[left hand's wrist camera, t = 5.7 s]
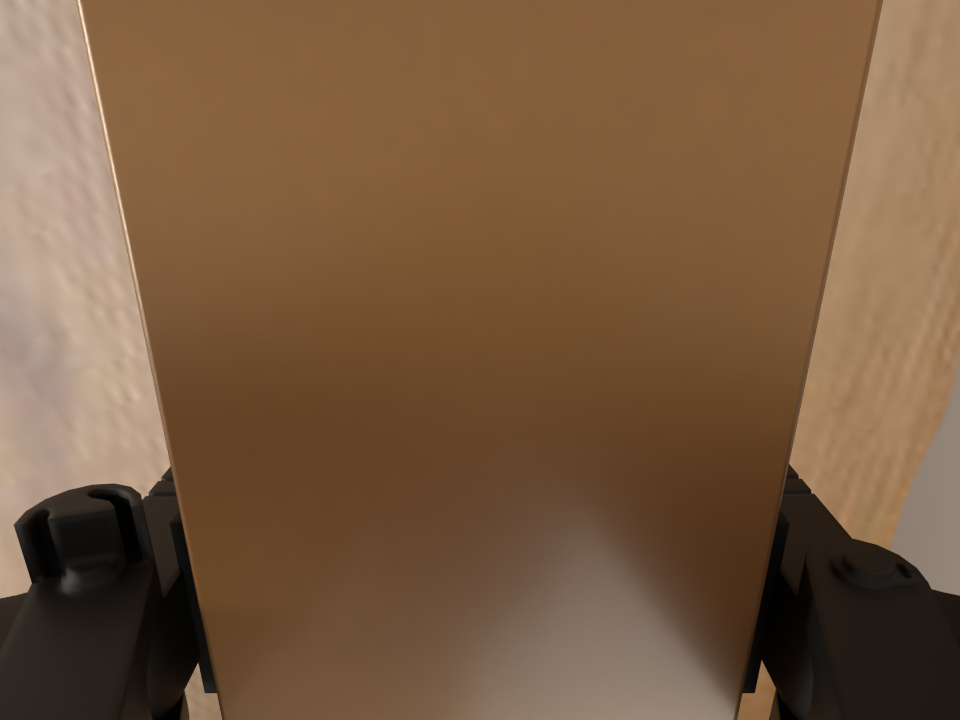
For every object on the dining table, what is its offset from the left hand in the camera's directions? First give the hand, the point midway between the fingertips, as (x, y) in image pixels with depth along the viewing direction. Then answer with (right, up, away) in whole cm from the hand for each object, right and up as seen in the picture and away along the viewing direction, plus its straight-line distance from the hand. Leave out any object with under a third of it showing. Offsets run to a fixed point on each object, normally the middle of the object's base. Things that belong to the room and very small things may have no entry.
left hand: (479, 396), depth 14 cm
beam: (0, +23, -9) cm, 25 cm away
